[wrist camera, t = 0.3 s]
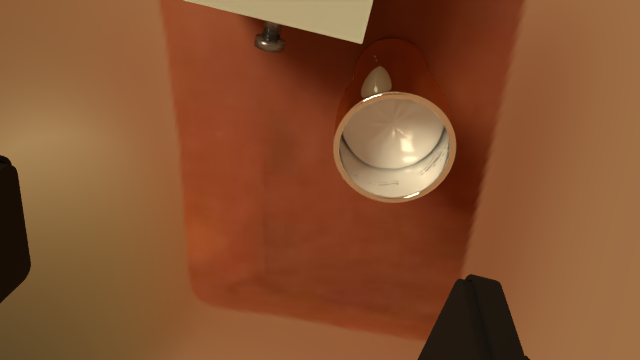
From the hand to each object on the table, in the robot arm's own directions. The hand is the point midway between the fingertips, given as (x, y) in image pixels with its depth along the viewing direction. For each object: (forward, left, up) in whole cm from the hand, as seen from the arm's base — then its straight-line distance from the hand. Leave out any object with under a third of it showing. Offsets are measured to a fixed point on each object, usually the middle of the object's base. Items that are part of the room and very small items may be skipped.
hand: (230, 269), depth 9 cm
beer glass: (+3, +5, -30) cm, 31 cm away
